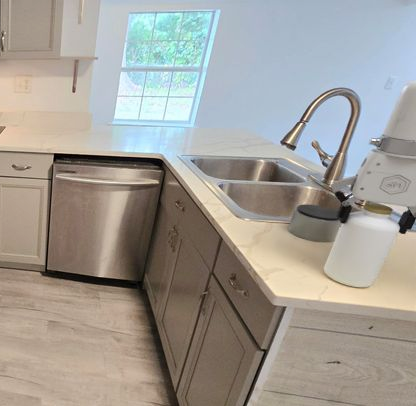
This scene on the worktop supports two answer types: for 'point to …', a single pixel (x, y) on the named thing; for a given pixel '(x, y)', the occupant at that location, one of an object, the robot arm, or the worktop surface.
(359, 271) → the white bottle
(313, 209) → the grey cylinder
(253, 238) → the worktop surface
